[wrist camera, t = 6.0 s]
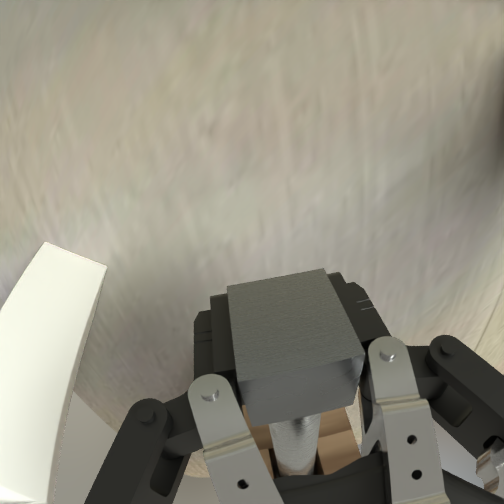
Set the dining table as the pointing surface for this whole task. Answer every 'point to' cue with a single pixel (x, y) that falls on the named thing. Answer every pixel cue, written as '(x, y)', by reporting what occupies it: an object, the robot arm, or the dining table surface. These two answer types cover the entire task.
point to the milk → (42, 367)
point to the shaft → (293, 360)
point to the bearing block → (328, 446)
